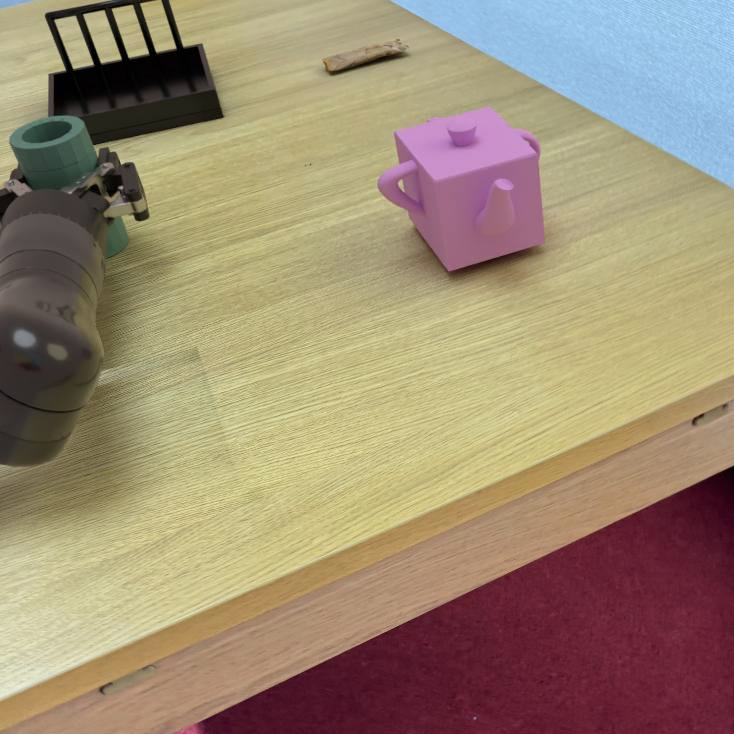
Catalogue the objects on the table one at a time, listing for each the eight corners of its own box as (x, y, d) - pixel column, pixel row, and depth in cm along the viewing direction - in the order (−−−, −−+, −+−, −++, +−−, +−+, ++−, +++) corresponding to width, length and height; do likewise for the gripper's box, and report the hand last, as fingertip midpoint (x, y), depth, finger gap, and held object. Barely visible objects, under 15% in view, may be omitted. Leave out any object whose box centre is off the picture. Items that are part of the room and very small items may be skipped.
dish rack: (59, 151, 108) (20, 58, 101) (59, 100, 118) (23, 12, 111) (223, 117, 111) (196, 24, 104) (210, 69, 121) (184, -19, 114)
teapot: (593, 271, 84) (588, 150, 77) (431, 321, 81) (410, 200, 74) (508, 180, 96) (497, 68, 89) (364, 220, 93) (340, 107, 86)
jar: (61, 270, 91) (7, 154, 84) (60, 237, 95) (10, 124, 88) (130, 254, 92) (84, 138, 85) (127, 222, 96) (83, 109, 89)
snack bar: (329, 70, 116) (319, 52, 117) (330, 81, 117) (321, 63, 118) (409, 47, 118) (399, 30, 119) (410, 58, 119) (400, 41, 121)
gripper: (129, 198, 77) (137, 107, 89) (-73, 234, 76) (-38, 137, 87) (163, 286, 83) (166, 189, 94) (-25, 322, 81) (2, 219, 93)
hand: (68, 165), depth 91 cm, fingers closed on jar, 6 cm apart
